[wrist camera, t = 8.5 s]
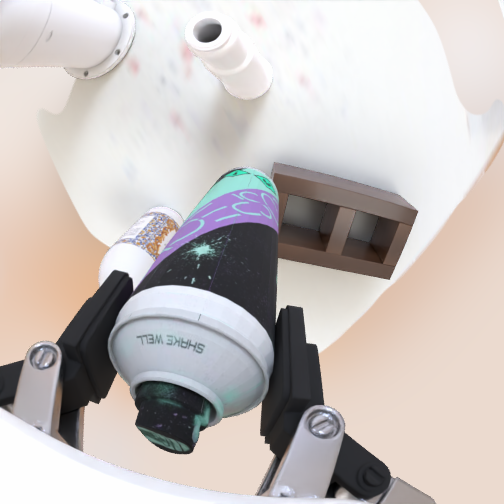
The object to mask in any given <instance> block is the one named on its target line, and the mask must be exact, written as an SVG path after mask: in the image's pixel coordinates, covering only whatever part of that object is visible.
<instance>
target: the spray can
mask: <svg viewBox="0 0 504 504" xmlns="http://www.w3.org/2000/svg"><path fill="white" fill-rule="evenodd" d="M278 218H279V197H278V191H277V189H276V186H275V184H274V182H273V181H272V179H271V178H270V177H269V176H268V175H267V174H265V173H264V172H262V171H260V170H258V169H256V168H252V167H238V168H234V169H231V170H229V171H228V172H226V173H225V174H223V175H222V176H221V177H220V178H219V179H218V180H217V181H216V183H215V184H214V185H213V186H212V188H211V189H210V190H209V191H208V192H207V194H206V195H205V196H204V197H203V199H202V200H201V201H200V202H199V204H198V205H197V206H196V207H195V209H194V210H193V211H192V213H191V214H190V215H189V216H188V218H187V219H186V220H185V222H184V223H183V224H182V225H181V227H180V228H179V229H178V231H177V232H176V233H175V235H174V236H173V237H172V239H171V240H170V241H169V243H168V244H167V245H166V247H165V248H164V249H163V251H162V252H161V253H160V255H159V256H158V258H157V259H156V260H155V262H154V263H153V264H152V266H151V267H150V269H149V270H148V271H147V273H146V274H145V276H144V277H143V278H142V280H141V281H140V283H139V284H138V286H137V287H136V288H135V290H134V291H133V293H132V294H131V296H130V297H129V299H128V300H127V302H126V303H125V305H124V306H123V308H122V309H121V311H120V312H119V315H118V317H117V319H116V322H115V326H114V328H113V329H112V331H111V334H110V336H109V338H108V352H109V357H110V360H111V362H112V364H113V366H114V368H115V369H116V371H117V372H118V374H119V375H120V377H121V378H123V380H124V381H125V382H126V383H127V384H128V385H129V386H130V394H131V396H132V398H133V399H134V401H135V406H136V407H137V409H138V410H139V413H138V416H137V419H136V423H135V425H136V426H137V428H138V429H139V430H140V431H141V433H142V434H143V435H144V436H145V437H146V438H147V439H148V440H149V441H150V442H152V443H153V444H154V445H155V446H157V447H159V448H160V449H163V450H165V451H167V452H171V453H175V454H190V453H192V452H193V449H194V447H195V445H196V443H197V441H198V438H199V432H200V431H203V430H204V429H205V428H207V427H211V426H214V425H216V424H217V423H219V422H220V421H221V420H222V418H227V417H232V416H237V415H240V414H243V413H246V412H248V411H250V410H252V409H253V408H255V407H257V406H258V405H259V404H260V403H261V402H262V401H263V400H264V398H265V396H266V394H267V392H268V388H269V379H270V377H271V375H272V372H273V364H274V347H275V324H276V297H277V264H278Z"/></svg>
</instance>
